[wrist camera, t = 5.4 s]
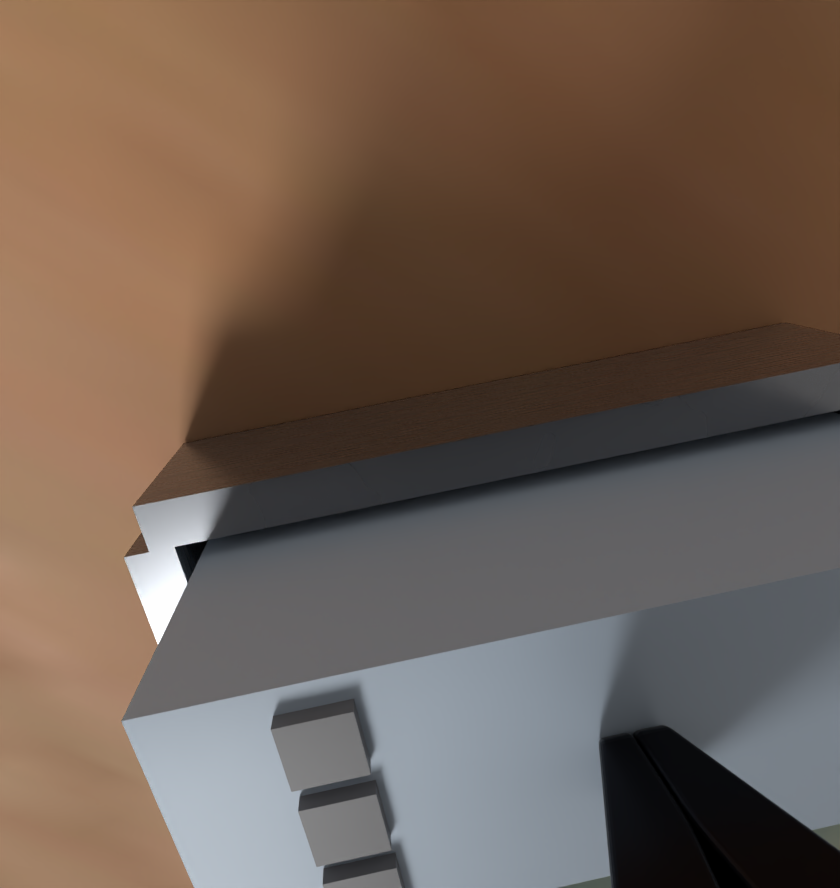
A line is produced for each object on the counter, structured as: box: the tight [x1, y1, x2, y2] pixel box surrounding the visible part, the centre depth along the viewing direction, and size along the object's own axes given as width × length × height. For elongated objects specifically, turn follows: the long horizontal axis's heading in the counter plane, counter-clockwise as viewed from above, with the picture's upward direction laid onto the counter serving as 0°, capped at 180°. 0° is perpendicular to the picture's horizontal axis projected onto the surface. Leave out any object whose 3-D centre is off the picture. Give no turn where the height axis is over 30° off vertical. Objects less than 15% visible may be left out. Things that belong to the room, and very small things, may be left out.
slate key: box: [122, 412, 840, 888], centre depth 10 cm, size 11×4×6 cm, turn 100°
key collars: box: [124, 323, 840, 644], centre depth 15 cm, size 13×24×3 cm, turn 10°
